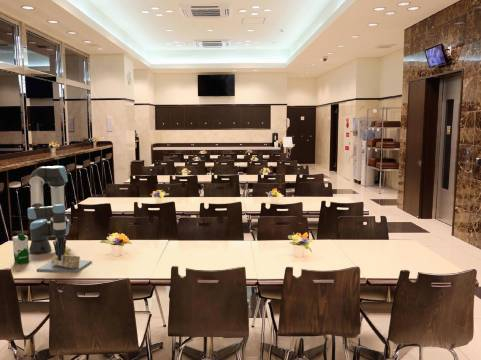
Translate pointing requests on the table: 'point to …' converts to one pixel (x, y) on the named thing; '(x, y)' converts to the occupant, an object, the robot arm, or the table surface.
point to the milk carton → (21, 249)
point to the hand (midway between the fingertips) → (60, 265)
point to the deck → (56, 268)
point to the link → (67, 261)
